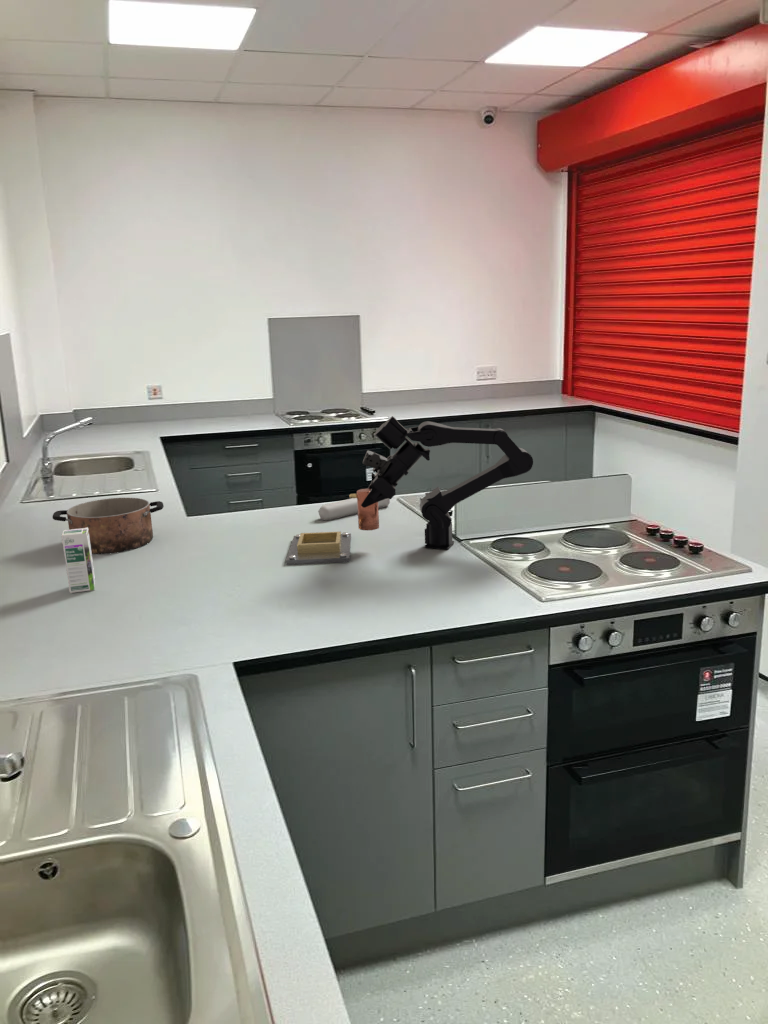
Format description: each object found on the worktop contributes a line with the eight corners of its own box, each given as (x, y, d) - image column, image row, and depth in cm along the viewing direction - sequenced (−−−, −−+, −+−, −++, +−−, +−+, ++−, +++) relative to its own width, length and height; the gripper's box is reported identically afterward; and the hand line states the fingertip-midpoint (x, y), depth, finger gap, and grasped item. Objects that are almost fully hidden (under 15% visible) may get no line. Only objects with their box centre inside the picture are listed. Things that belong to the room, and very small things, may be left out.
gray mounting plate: (351, 537, 231) (350, 525, 230) (349, 562, 210) (348, 549, 209) (294, 539, 231) (293, 527, 230) (286, 564, 210) (285, 551, 209)
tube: (326, 510, 246) (391, 495, 261) (316, 502, 250) (381, 487, 264) (324, 525, 249) (388, 509, 263) (314, 517, 252) (378, 502, 267)
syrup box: (69, 593, 195) (60, 535, 191) (71, 585, 200) (63, 528, 196) (94, 590, 196) (86, 532, 192) (96, 583, 201) (88, 526, 198)
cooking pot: (52, 560, 221) (47, 522, 218) (62, 538, 242) (56, 503, 239) (167, 548, 228) (163, 510, 226) (166, 527, 249) (162, 493, 246)
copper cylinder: (379, 524, 221) (377, 488, 219) (379, 529, 216) (377, 493, 213) (351, 525, 221) (349, 489, 219) (350, 531, 216) (348, 494, 213)
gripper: (379, 434, 222) (341, 476, 224) (380, 446, 204) (338, 491, 206) (409, 461, 224) (371, 502, 227) (413, 476, 206) (371, 520, 208)
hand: (362, 503), depth 217 cm, fingers closed on copper cylinder, 5 cm apart
